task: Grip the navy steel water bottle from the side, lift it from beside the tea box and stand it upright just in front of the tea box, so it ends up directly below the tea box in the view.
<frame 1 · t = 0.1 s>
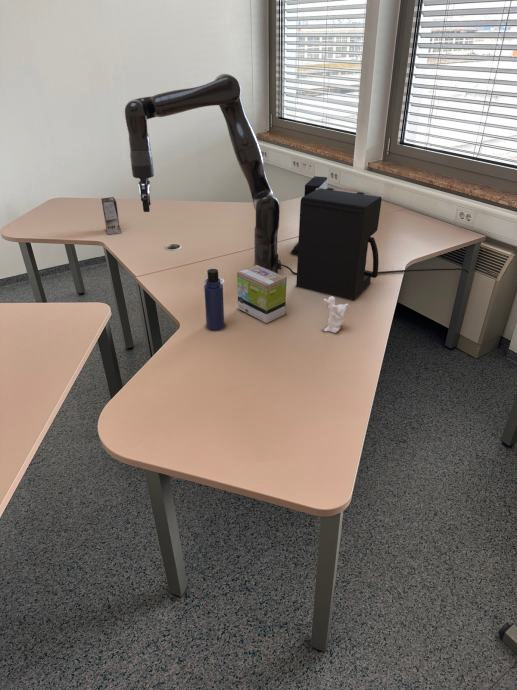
hand: (147, 208, 180), 29 cm above the table, tool pointing down, fingers open, 8 cm apart
coffee maker: (338, 286, 192), on the table
award: (317, 246, 231), on the table
tea box: (261, 312, 173), on the table
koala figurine: (333, 330, 162), on the table
water bottle: (215, 326, 164), on the table
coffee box: (113, 231, 248), on the table
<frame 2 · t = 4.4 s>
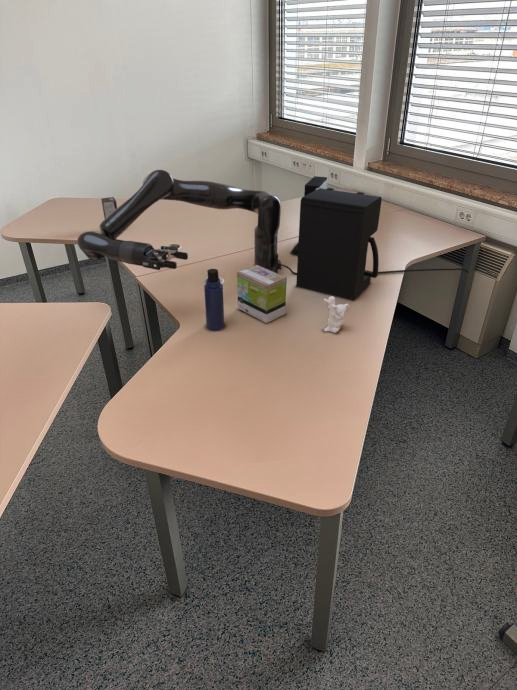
hand: (181, 260, 155), 22 cm above the table, tool horizontal, fingers open, 8 cm apart
nothing on the table moved.
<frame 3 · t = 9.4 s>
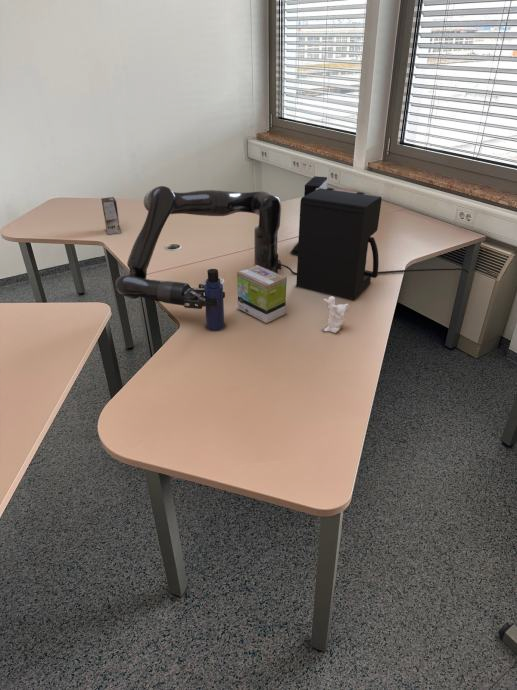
hand: (221, 299, 158), 11 cm above the table, tool horizontal, fingers closed on water bottle, 6 cm apart
water bottle: (215, 326, 164), on the table, touching gripper
everything else where it was.
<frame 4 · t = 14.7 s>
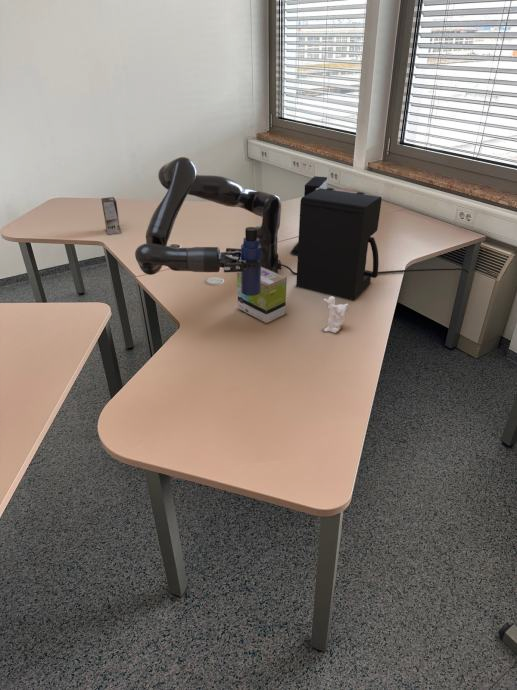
hand: (259, 260, 146), 26 cm above the table, tool horizontal, fingers closed on water bottle, 6 cm apart
water bottle: (250, 291, 152), point 15 cm above the table, touching gripper
everything else where it was.
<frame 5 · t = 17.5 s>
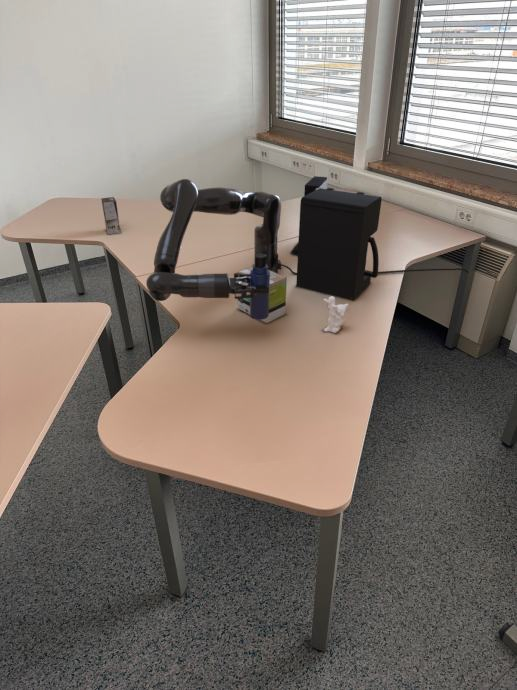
hand: (267, 285, 150), 18 cm above the table, tool horizontal, fingers closed on water bottle, 6 cm apart
water bottle: (259, 315, 156), point 7 cm above the table, touching gripper
everything else where it was.
when the fingers open (10 cm above the table, at t = 20.0 s): water bottle stays where it is, on the table.
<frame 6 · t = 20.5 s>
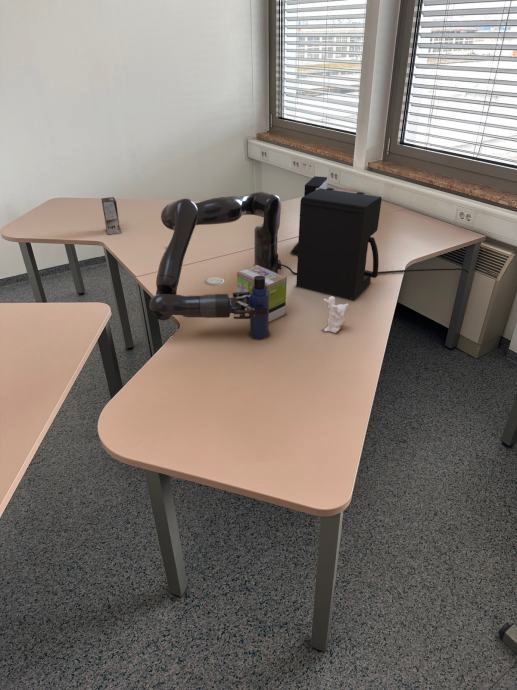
hand: (265, 304, 154), 11 cm above the table, tool horizontal, fingers open, 8 cm apart
water bottle: (259, 334, 159), on the table
everything else where it was.
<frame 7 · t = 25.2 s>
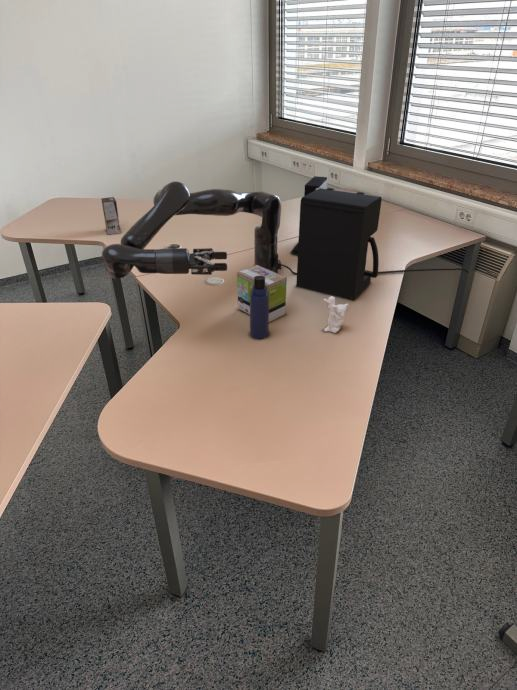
hand: (227, 261, 145), 26 cm above the table, tool horizontal, fingers open, 8 cm apart
nothing on the table moved.
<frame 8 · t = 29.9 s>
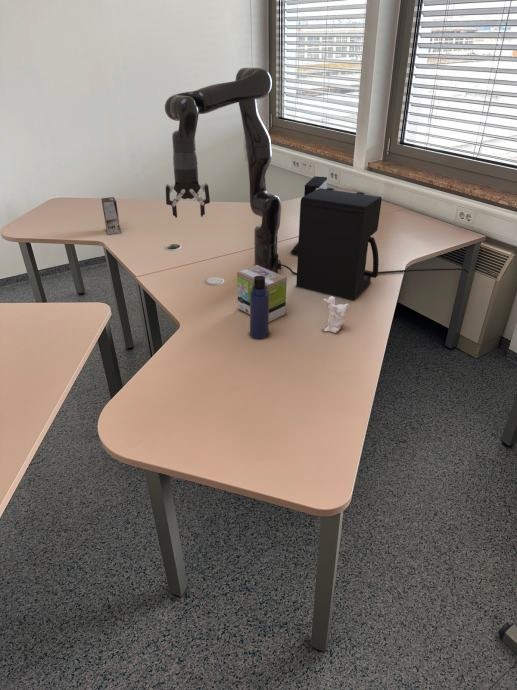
hand: (189, 216, 162), 32 cm above the table, tool pointing down, fingers open, 8 cm apart
nothing on the table moved.
at the end: water bottle inside the target area on the table beside the tea box (1.3 cm from its centre), on the table; water bottle tilted 0°; tea box moved 0.2 cm from its start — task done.
